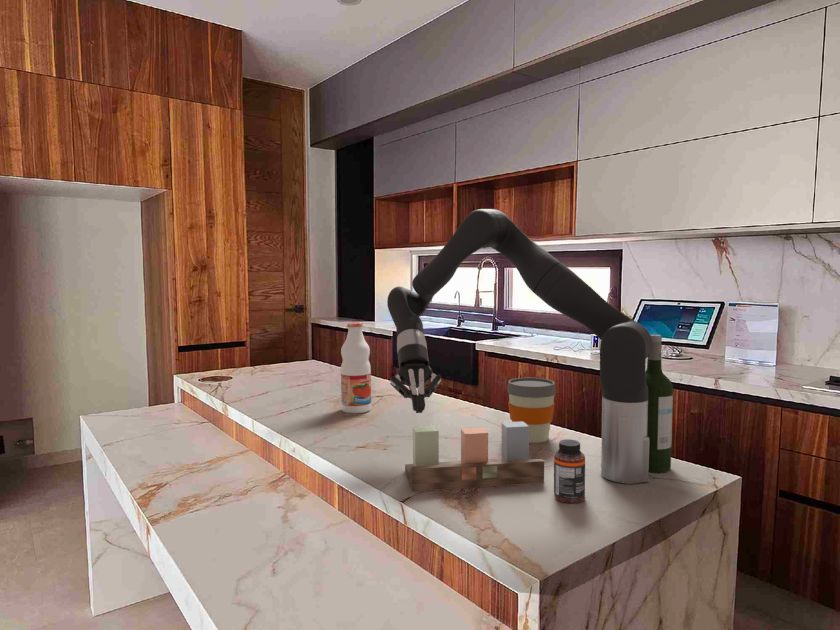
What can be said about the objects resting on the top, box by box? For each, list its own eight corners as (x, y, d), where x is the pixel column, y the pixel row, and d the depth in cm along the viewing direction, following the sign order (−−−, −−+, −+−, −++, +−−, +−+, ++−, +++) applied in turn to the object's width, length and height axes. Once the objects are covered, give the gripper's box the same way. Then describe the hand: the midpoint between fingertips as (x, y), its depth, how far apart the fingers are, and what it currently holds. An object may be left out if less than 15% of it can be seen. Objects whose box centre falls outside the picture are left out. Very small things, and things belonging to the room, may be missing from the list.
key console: (525, 463, 133) (525, 443, 132) (544, 483, 121) (544, 461, 120) (405, 470, 129) (405, 450, 128) (412, 491, 117) (412, 469, 116)
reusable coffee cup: (555, 446, 145) (556, 387, 144) (505, 443, 148) (506, 386, 146) (554, 432, 157) (555, 378, 156) (508, 429, 160) (508, 376, 159)
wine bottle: (639, 459, 135) (642, 332, 132) (675, 466, 130) (679, 334, 127) (627, 468, 129) (630, 335, 126) (664, 476, 124) (668, 338, 121)
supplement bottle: (561, 489, 117) (562, 435, 116) (589, 497, 113) (590, 441, 112) (548, 499, 112) (548, 442, 112) (577, 507, 109) (577, 448, 108)
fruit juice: (353, 405, 190) (351, 321, 187) (377, 408, 185) (375, 322, 183) (335, 411, 182) (333, 323, 179) (360, 415, 177) (358, 325, 175)
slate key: (522, 460, 130) (523, 421, 129) (528, 466, 126) (529, 426, 125) (501, 461, 129) (501, 422, 128) (506, 467, 125) (506, 427, 124)
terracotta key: (483, 467, 125) (483, 427, 124) (488, 474, 121) (488, 432, 120) (460, 469, 125) (460, 428, 124) (465, 475, 121) (464, 434, 120)
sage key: (435, 465, 127) (435, 425, 126) (438, 471, 123) (438, 430, 122) (413, 466, 126) (412, 426, 126) (415, 473, 122) (415, 431, 122)
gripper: (386, 343, 141) (392, 404, 130) (440, 341, 143) (449, 401, 132) (385, 361, 147) (390, 420, 136) (436, 359, 149) (445, 418, 137)
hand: (419, 411), depth 134 cm, fingers closed
